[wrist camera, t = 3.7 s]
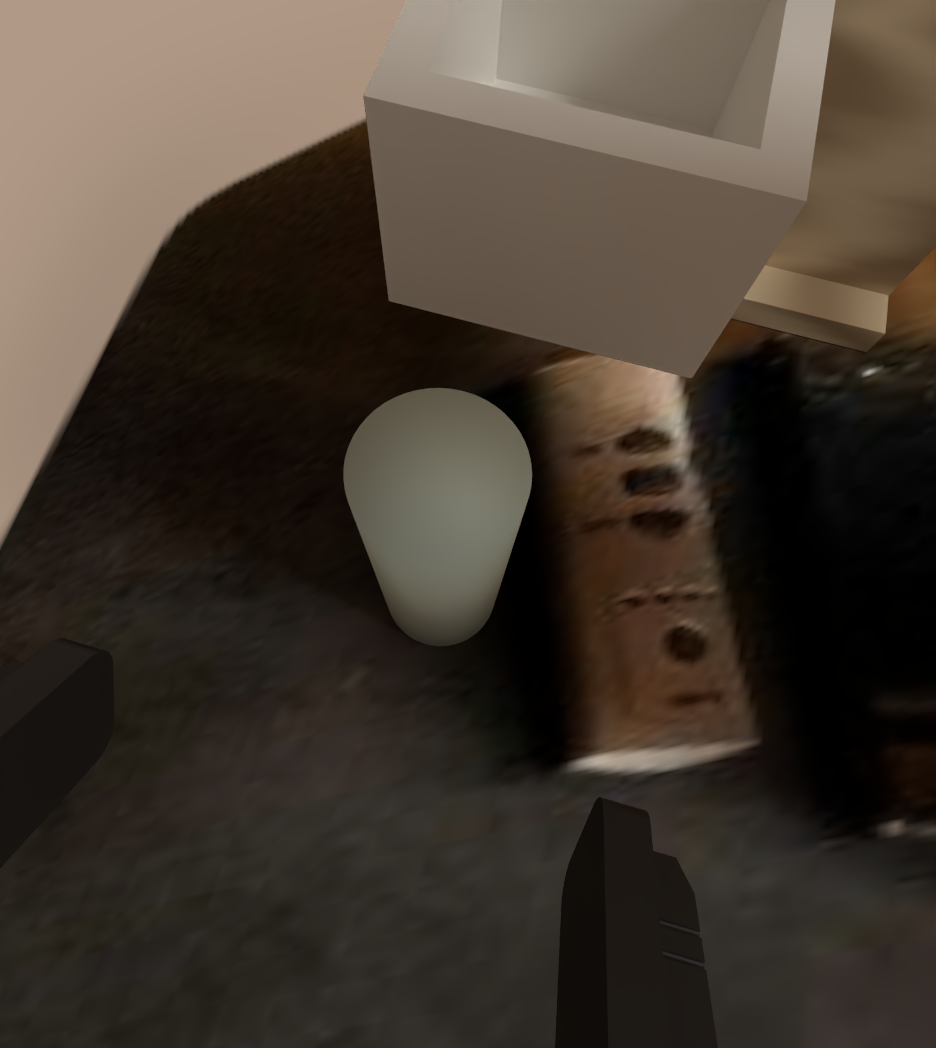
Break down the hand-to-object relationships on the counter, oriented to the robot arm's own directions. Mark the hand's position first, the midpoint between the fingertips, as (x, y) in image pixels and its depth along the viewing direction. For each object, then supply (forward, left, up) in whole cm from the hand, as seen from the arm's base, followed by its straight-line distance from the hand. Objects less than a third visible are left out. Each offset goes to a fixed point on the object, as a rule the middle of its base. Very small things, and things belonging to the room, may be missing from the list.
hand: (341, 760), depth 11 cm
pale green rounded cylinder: (0, -5, -10) cm, 12 cm away
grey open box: (-1, -16, -4) cm, 17 cm away
